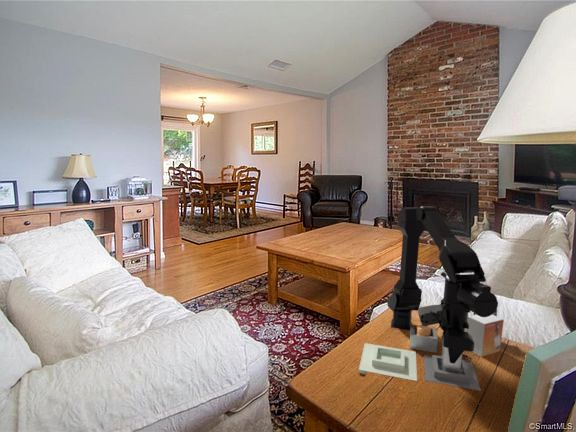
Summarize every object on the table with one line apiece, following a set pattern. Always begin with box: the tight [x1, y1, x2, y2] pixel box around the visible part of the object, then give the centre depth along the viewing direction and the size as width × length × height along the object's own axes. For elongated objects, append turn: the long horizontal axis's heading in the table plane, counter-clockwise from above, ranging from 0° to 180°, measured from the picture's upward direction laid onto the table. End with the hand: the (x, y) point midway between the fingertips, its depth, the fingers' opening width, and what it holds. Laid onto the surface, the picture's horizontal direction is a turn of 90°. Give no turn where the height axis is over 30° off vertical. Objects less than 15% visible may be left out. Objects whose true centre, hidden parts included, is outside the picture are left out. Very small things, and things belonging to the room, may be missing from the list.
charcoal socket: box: [423, 354, 482, 392], centre depth 89 cm, size 12×12×2 cm
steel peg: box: [441, 344, 463, 373], centre depth 88 cm, size 4×4×8 cm
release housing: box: [409, 323, 439, 354], centre depth 102 cm, size 7×7×5 cm
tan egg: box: [417, 324, 431, 336], centre depth 102 cm, size 4×4×5 cm
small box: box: [465, 315, 505, 358], centre depth 99 cm, size 8×6×10 cm
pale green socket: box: [358, 342, 418, 382], centre depth 94 cm, size 14×14×2 cm
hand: (451, 358), depth 88 cm, fingers closed on steel peg, 4 cm apart
